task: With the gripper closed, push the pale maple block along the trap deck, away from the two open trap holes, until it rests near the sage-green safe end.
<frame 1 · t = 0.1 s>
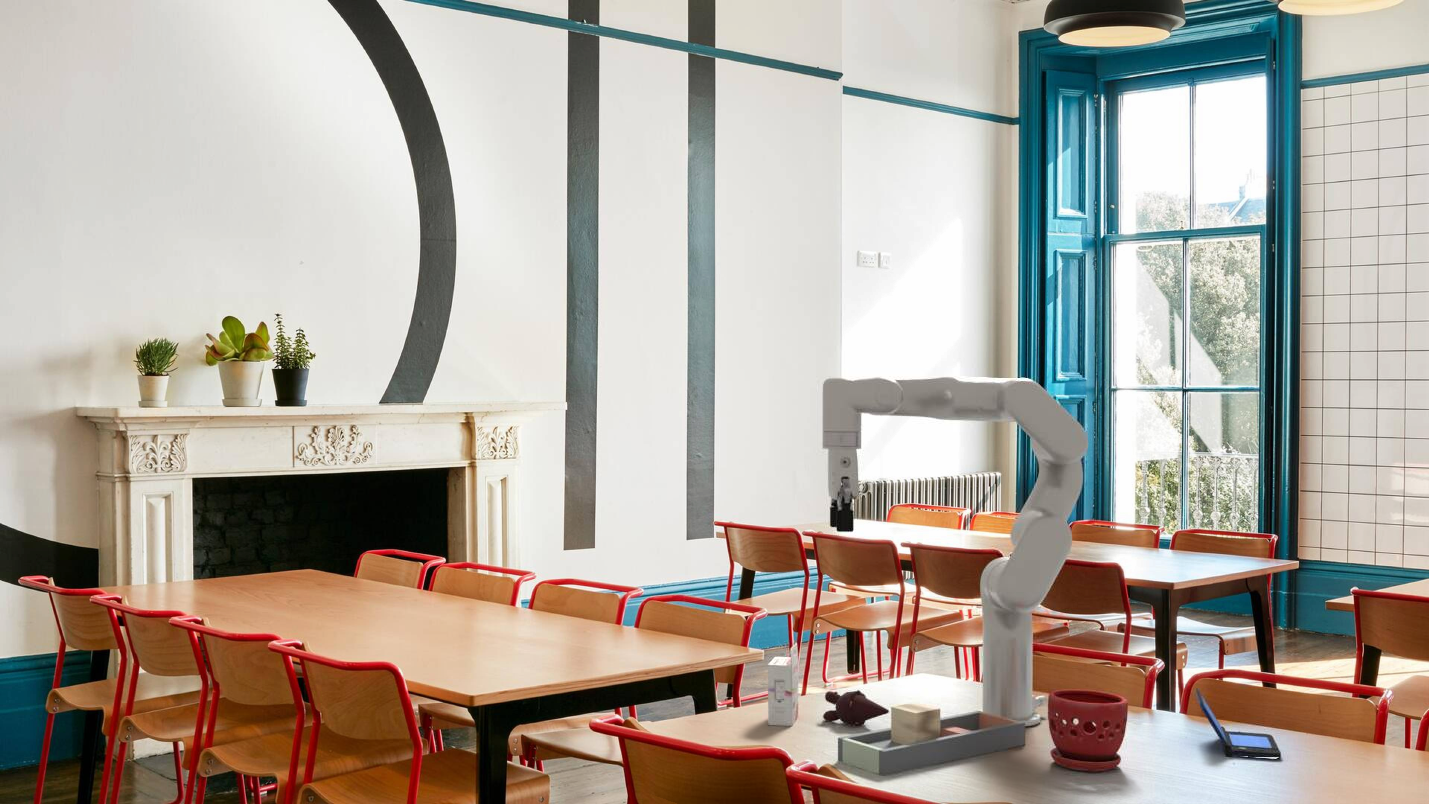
hand: (841, 529, 258), 37 cm above the table, tool pointing down, fingers open, 9 cm apart
handheld game console: (1236, 749, 239), on the table
icecream: (855, 726, 255), on the table
plant pot: (1087, 766, 227), on the table
maple block: (915, 742, 232), point 2 cm above the table, touching trap deck
trap deck: (933, 752, 235), on the table
ink cartridge box: (783, 722, 258), on the table
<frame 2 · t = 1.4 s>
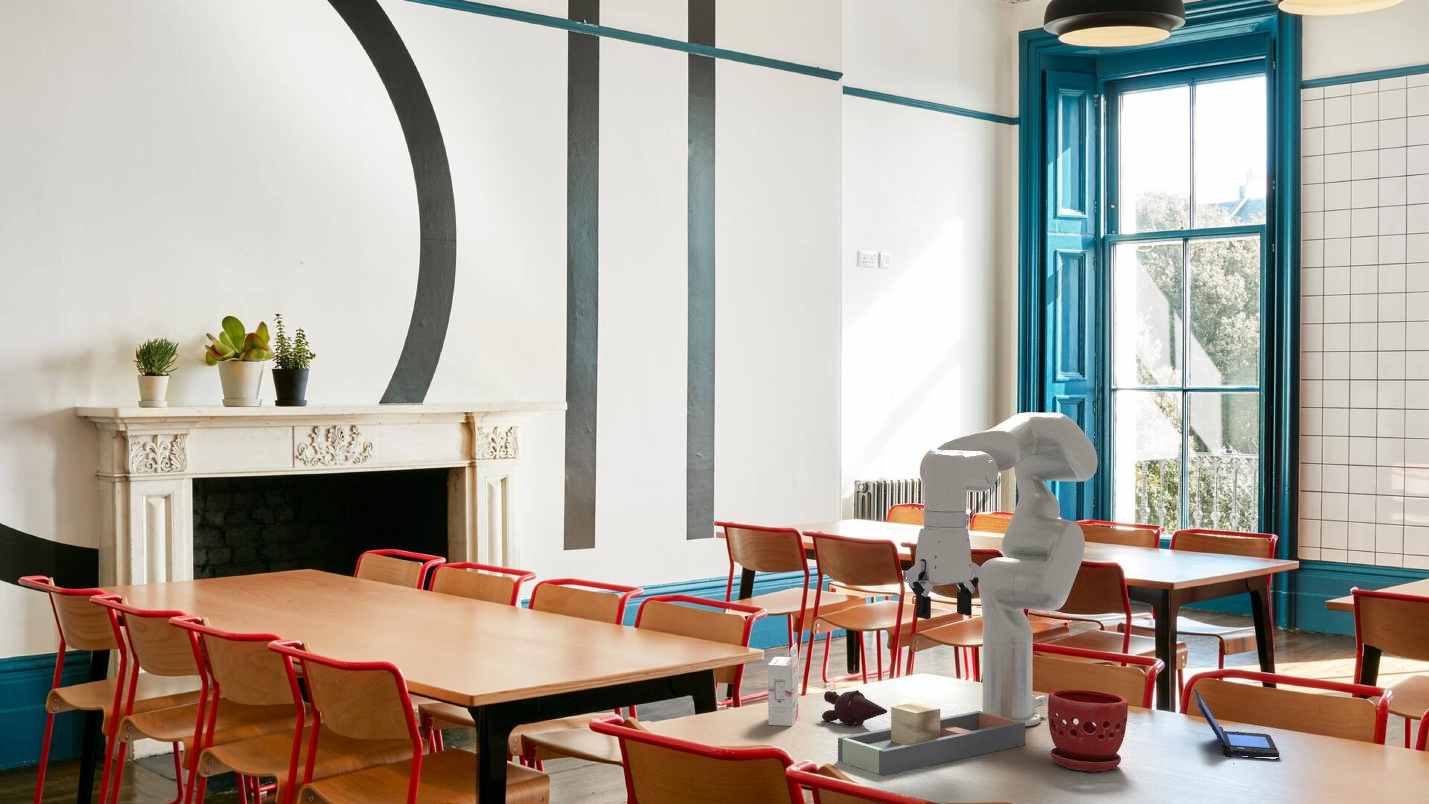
hand: (944, 616, 239), 23 cm above the table, tool pointing down, fingers open, 9 cm apart
nothing on the table moved.
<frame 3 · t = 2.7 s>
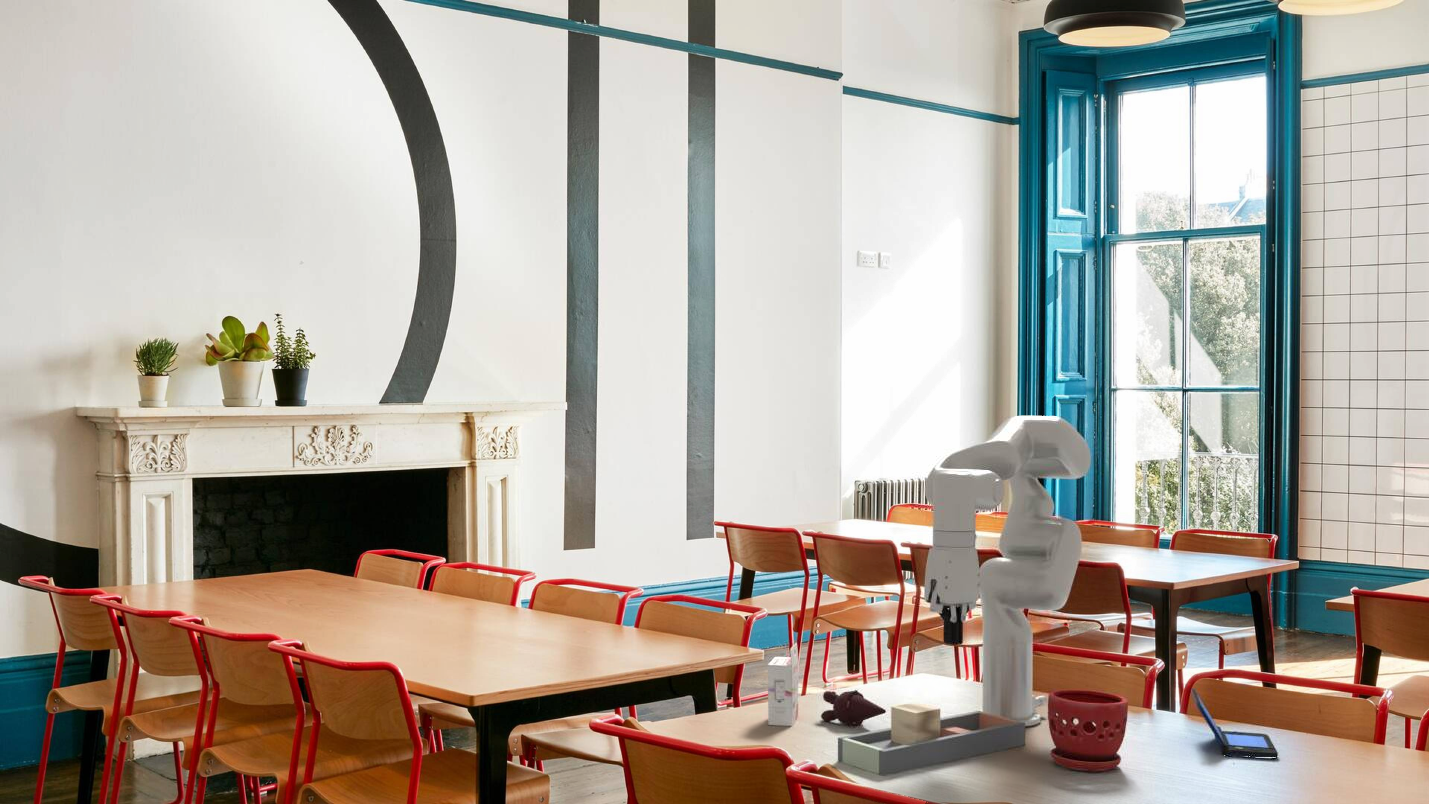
hand: (953, 643, 237), 19 cm above the table, tool pointing down, fingers closed
nothing on the table moved.
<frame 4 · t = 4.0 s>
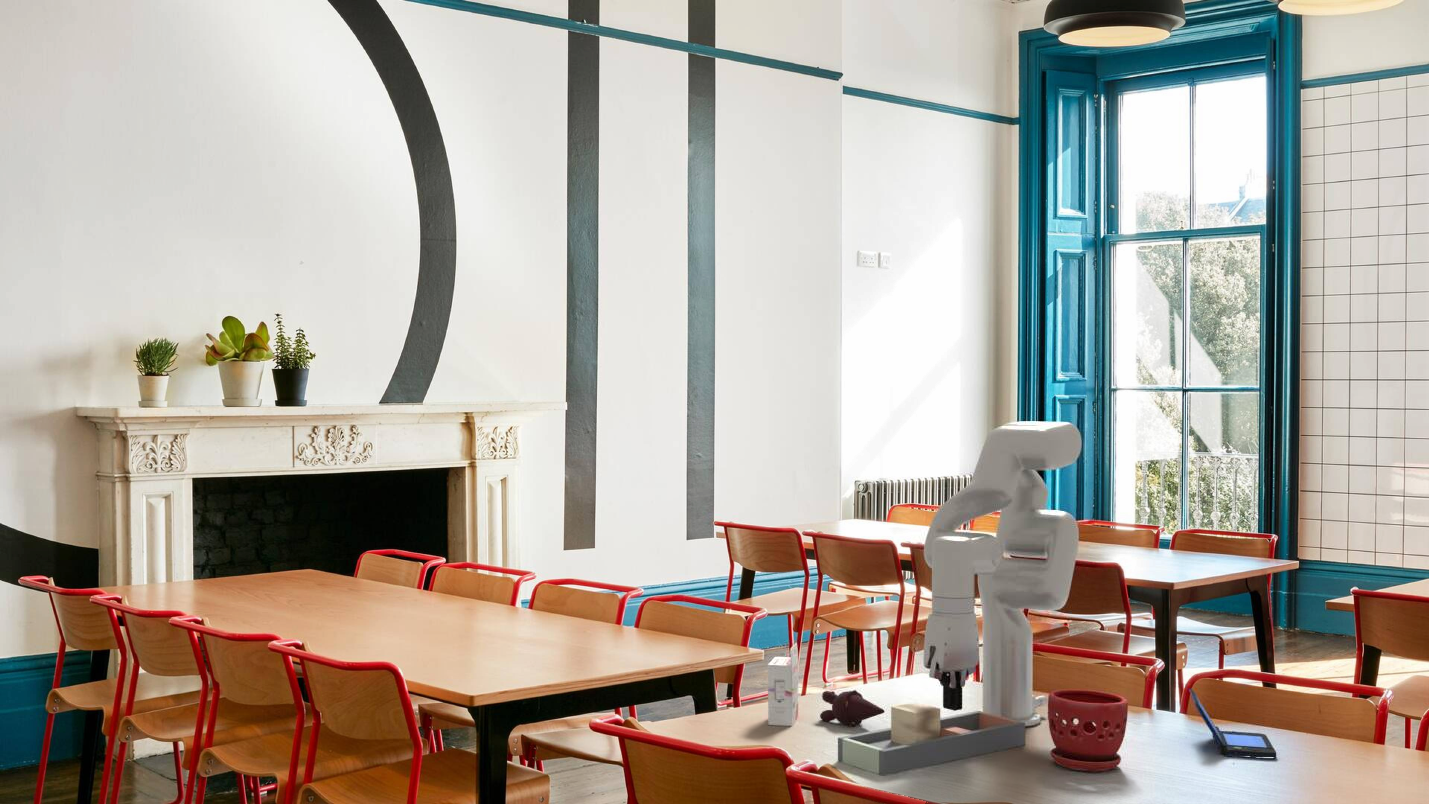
hand: (952, 708, 237), 7 cm above the table, tool pointing down, fingers closed
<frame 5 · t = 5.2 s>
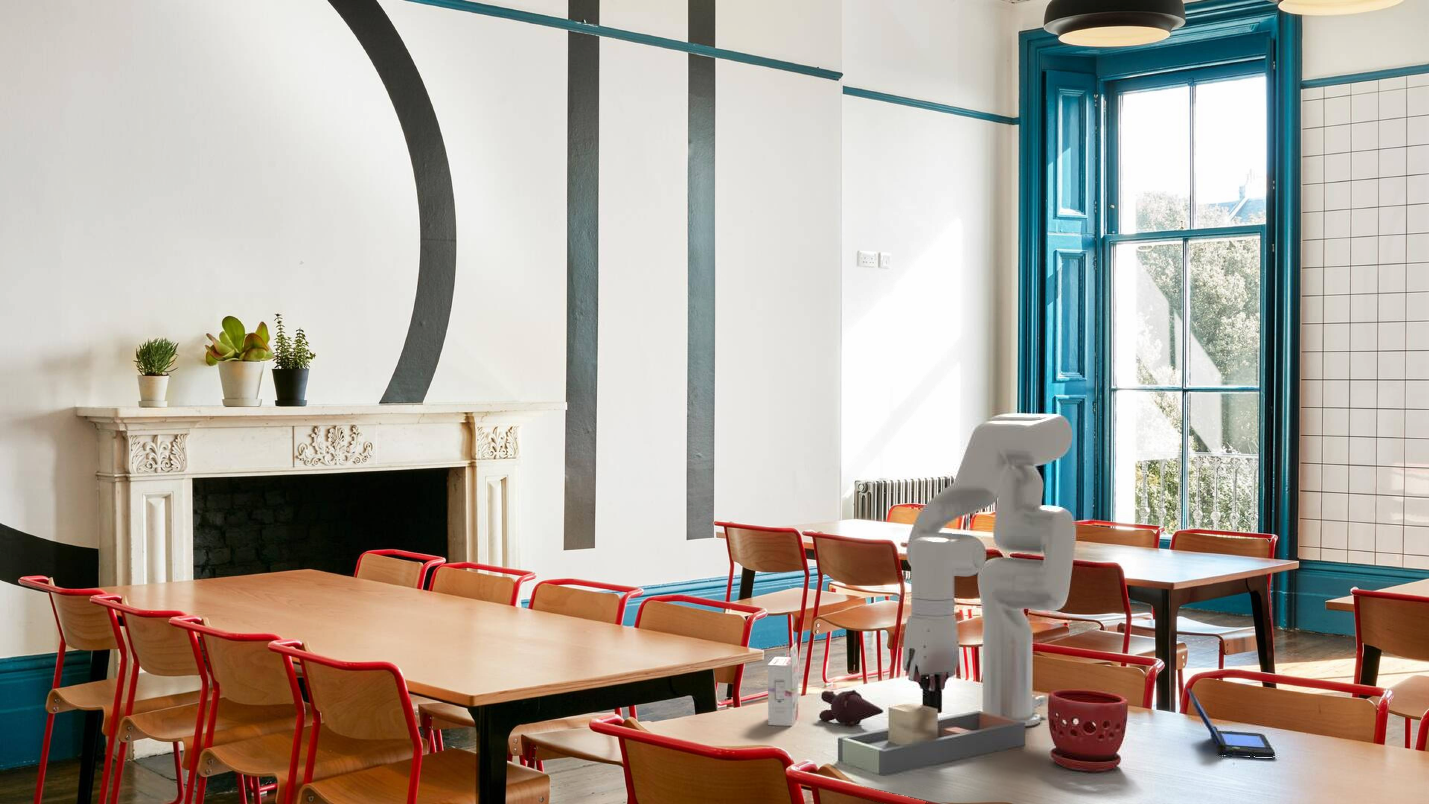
hand: (932, 711, 234), 7 cm above the table, tool pointing down, fingers closed
maple block: (912, 742, 232), point 3 cm above the table, touching gripper, trap deck
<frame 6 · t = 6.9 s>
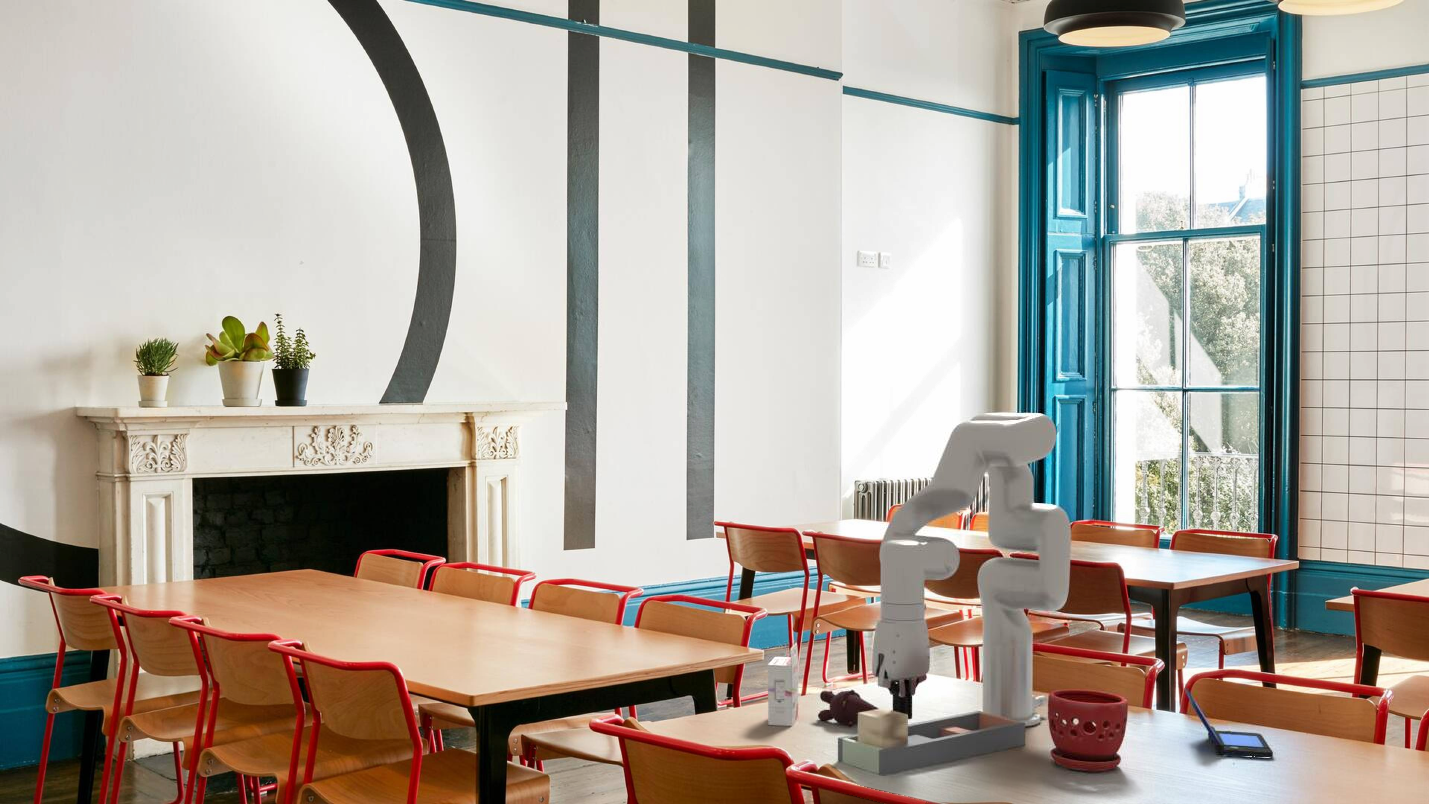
hand: (902, 717, 230), 7 cm above the table, tool pointing down, fingers closed
maple block: (882, 748, 227), point 2 cm above the table, touching gripper, trap deck
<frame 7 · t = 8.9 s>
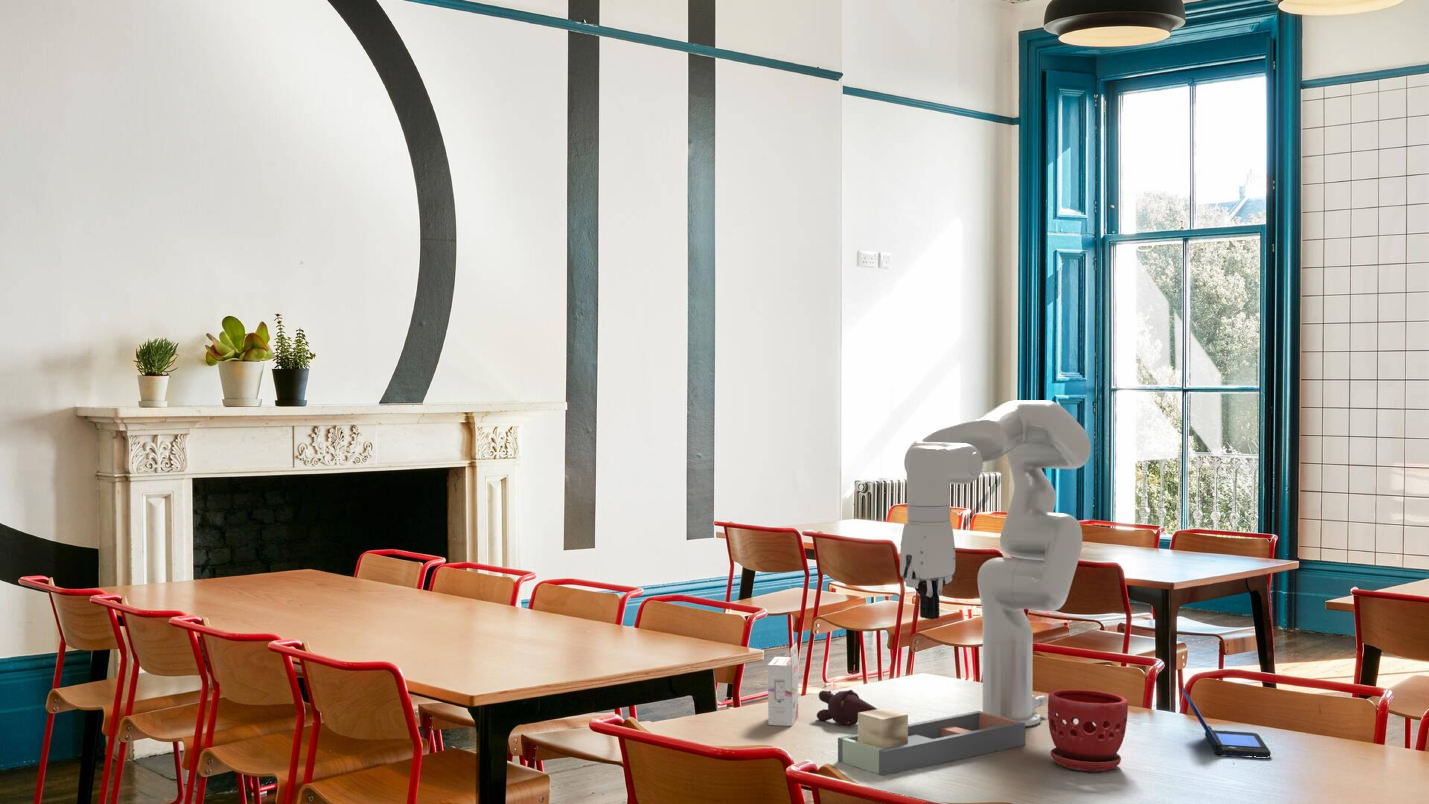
hand: (929, 617, 237), 23 cm above the table, tool pointing down, fingers closed
maple block: (882, 748, 227), point 2 cm above the table, touching trap deck
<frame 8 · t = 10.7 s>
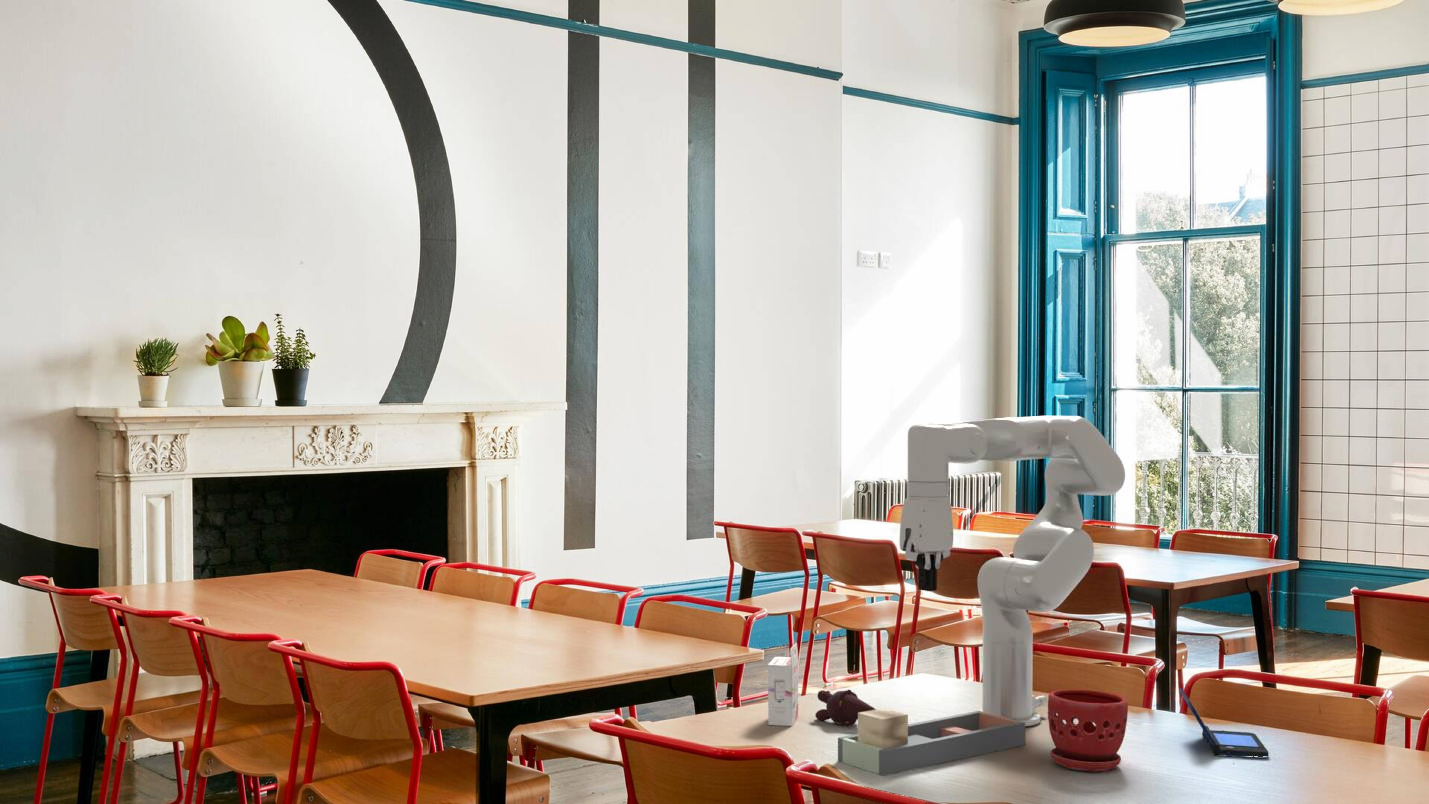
hand: (927, 589, 246), 27 cm above the table, tool pointing down, fingers closed
at the end: maple block 0.1 cm from the target spot on the trap deck, point 2.5 cm above the trap deck's base; maple block tilted 0° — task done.
